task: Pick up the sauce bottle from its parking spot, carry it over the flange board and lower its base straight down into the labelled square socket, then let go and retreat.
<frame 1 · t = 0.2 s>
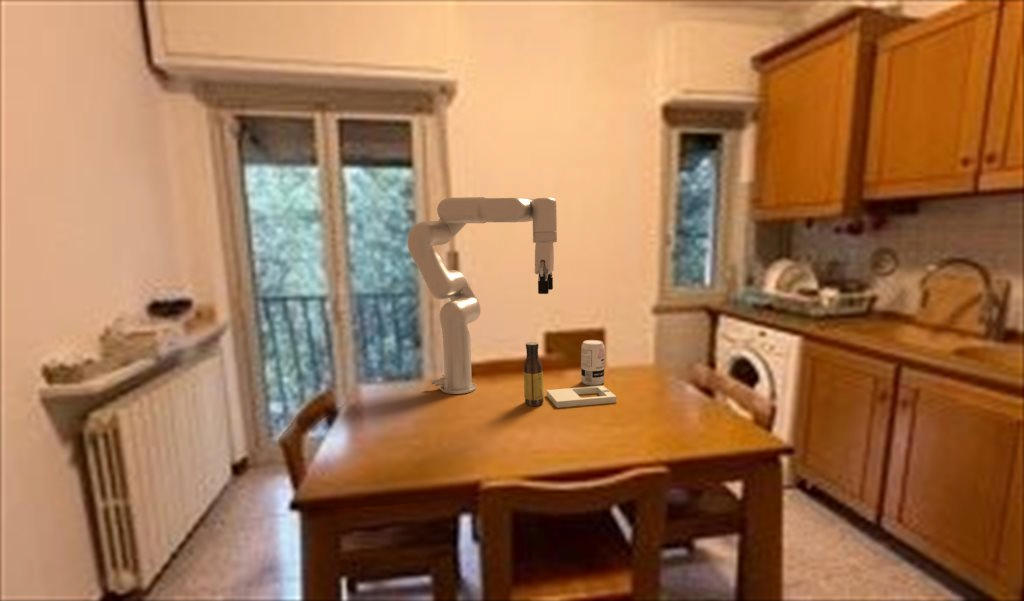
hand: (545, 291, 180), 36 cm above the table, tool pointing down, fingers open, 9 cm apart
sauce bottle: (533, 403, 183), on the table
supplement can: (592, 383, 203), on the table
flange board: (580, 399, 186), on the table
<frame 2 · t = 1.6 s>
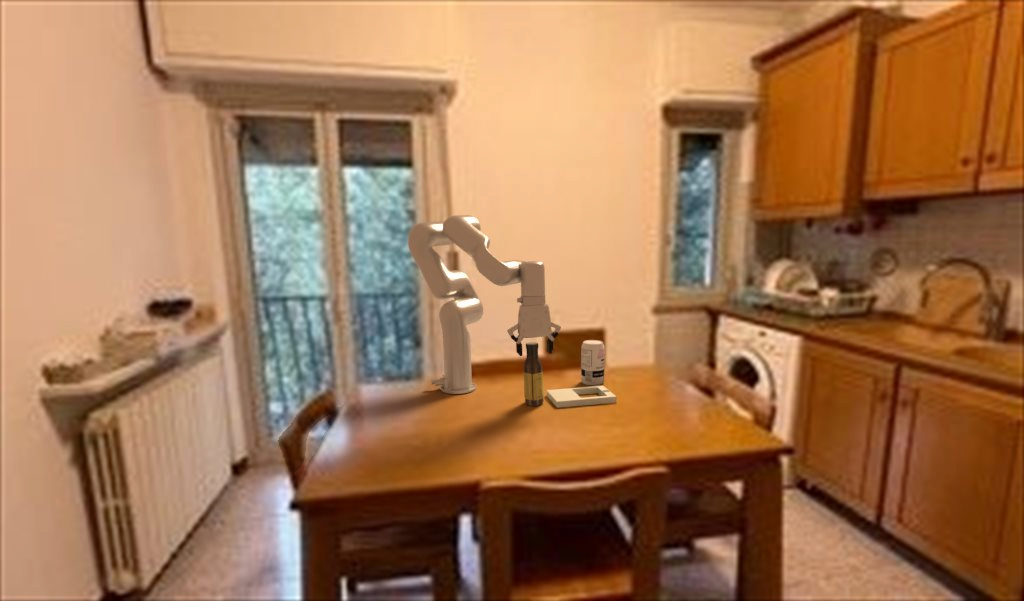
hand: (535, 353, 180), 16 cm above the table, tool pointing down, fingers open, 9 cm apart
nothing on the table moved.
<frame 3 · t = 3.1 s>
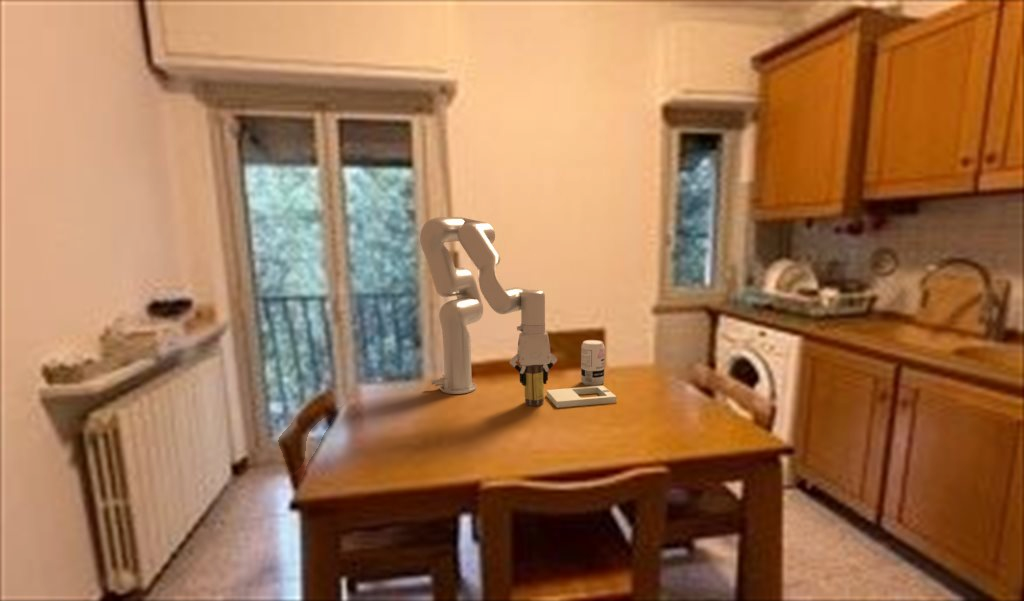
hand: (533, 383, 181), 7 cm above the table, tool pointing down, fingers closed on sauce bottle, 6 cm apart
sauce bottle: (533, 403, 182), on the table, touching gripper
everything else where it was.
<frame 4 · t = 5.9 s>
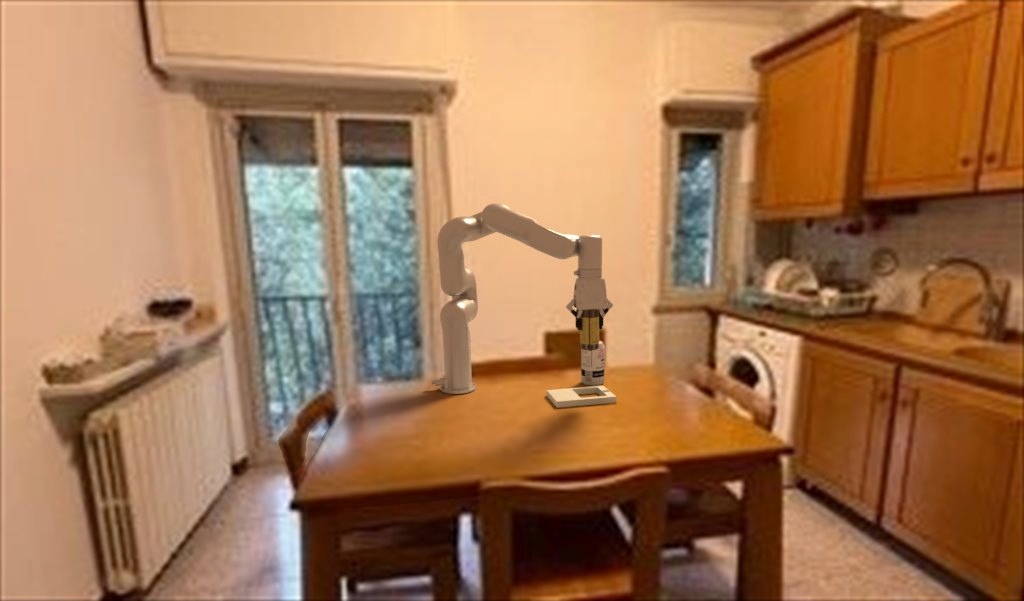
hand: (589, 328, 183), 24 cm above the table, tool pointing down, fingers closed on sauce bottle, 6 cm apart
sauce bottle: (589, 349, 184), point 17 cm above the table, touching gripper
everything else where it was.
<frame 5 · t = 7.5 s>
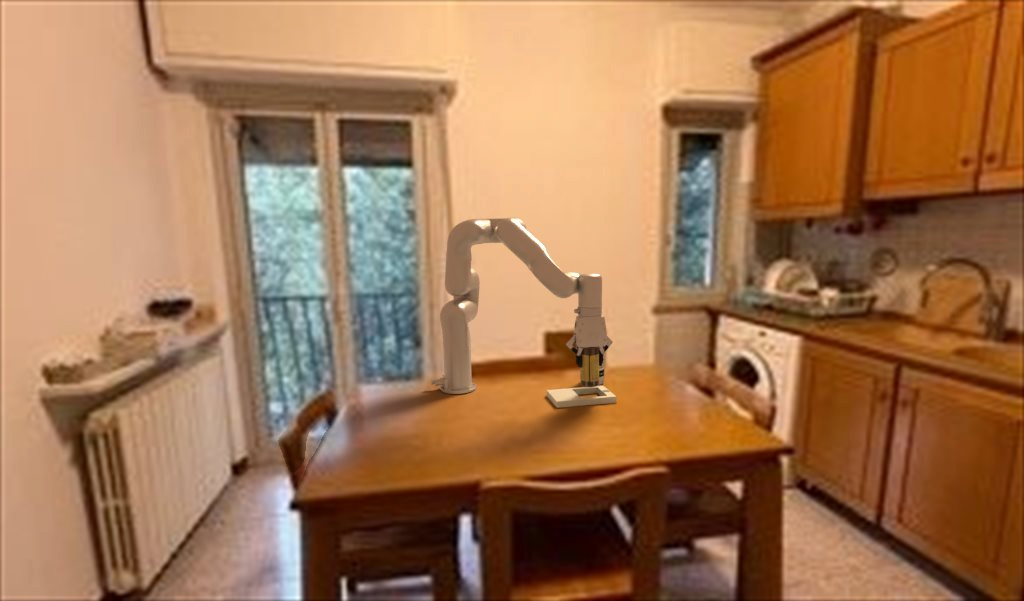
hand: (589, 365, 185), 11 cm above the table, tool pointing down, fingers closed on sauce bottle, 6 cm apart
sauce bottle: (589, 385, 186), point 4 cm above the table, touching gripper
everything else where it was.
when the fingers open (7 cm above the table, at t = 8.7 s): sauce bottle stays where it is, resting in flange board.
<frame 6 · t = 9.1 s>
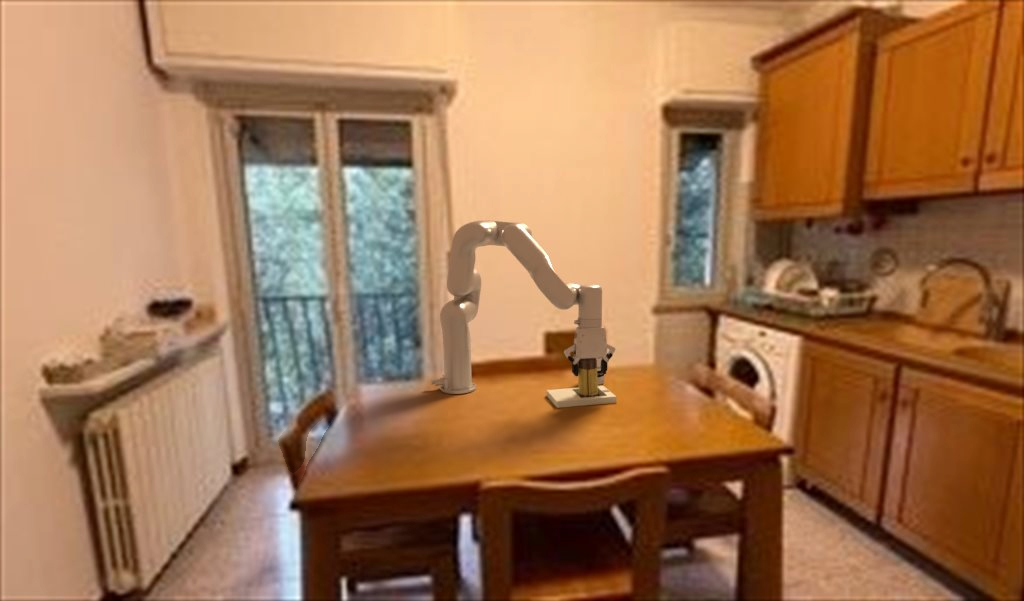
hand: (589, 374, 185), 8 cm above the table, tool pointing down, fingers open, 9 cm apart
sauce bottle: (587, 399, 186), resting in flange board
everything else where it was.
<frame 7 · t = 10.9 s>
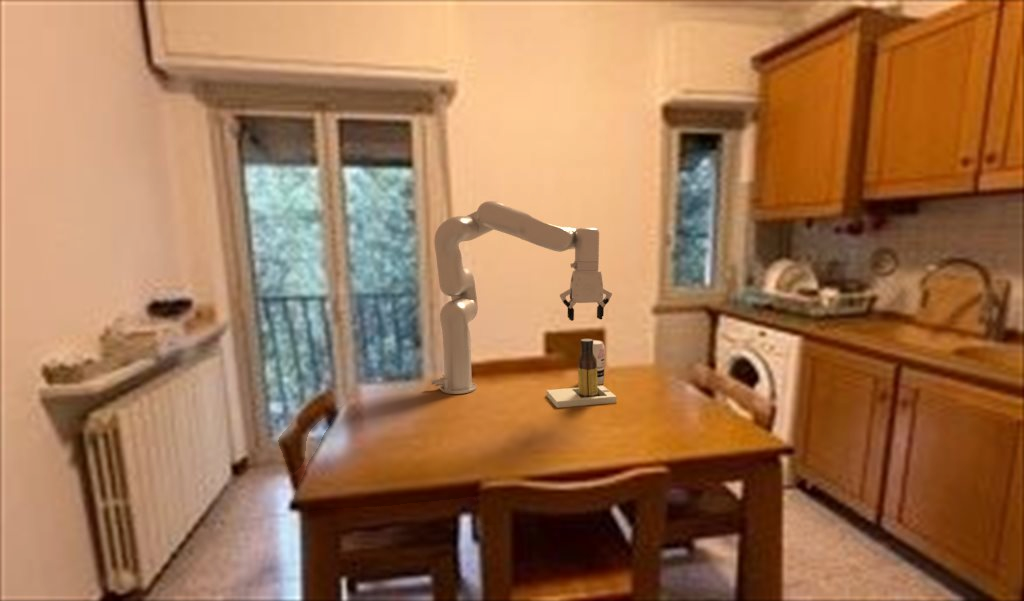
hand: (585, 319, 183), 27 cm above the table, tool pointing down, fingers open, 9 cm apart
nothing on the table moved.
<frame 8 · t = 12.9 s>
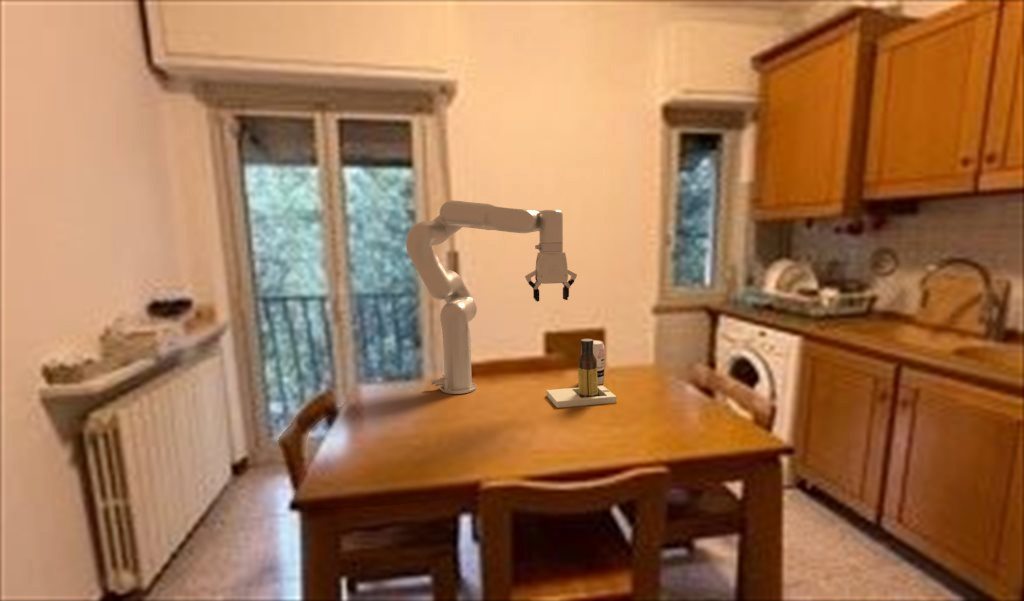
hand: (551, 300, 186), 32 cm above the table, tool pointing down, fingers open, 9 cm apart
nothing on the table moved.
at the end: sauce bottle 0.6 cm from the target spot on the flange board, point 0.0 cm above the flange board's base; sauce bottle tilted 0°; the gripper is holding nothing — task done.
